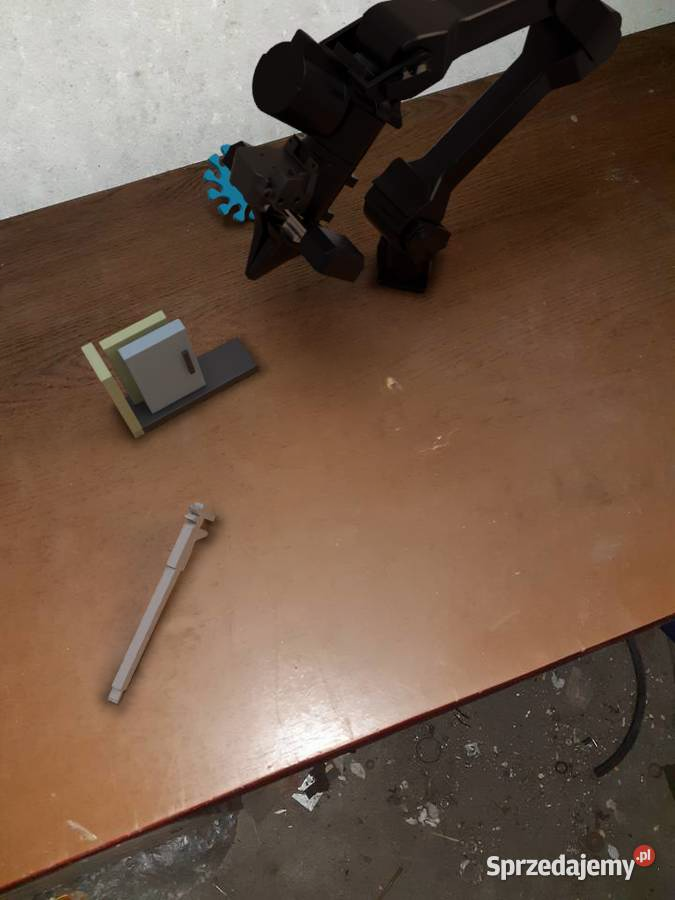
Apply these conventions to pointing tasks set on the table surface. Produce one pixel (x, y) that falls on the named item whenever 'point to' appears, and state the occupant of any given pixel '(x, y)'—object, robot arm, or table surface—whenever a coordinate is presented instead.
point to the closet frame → (218, 374)
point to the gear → (225, 187)
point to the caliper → (161, 595)
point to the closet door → (163, 365)
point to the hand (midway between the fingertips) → (249, 277)
